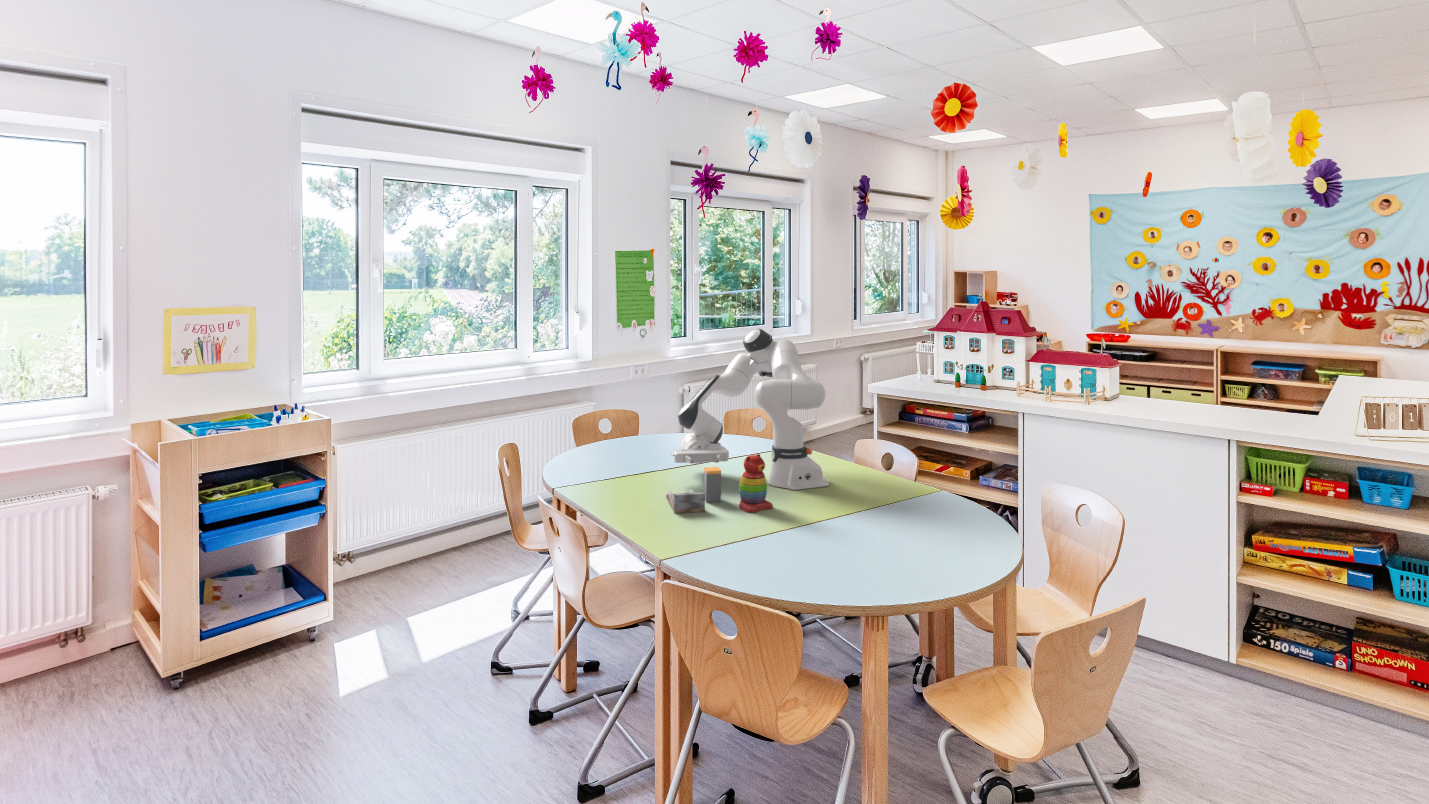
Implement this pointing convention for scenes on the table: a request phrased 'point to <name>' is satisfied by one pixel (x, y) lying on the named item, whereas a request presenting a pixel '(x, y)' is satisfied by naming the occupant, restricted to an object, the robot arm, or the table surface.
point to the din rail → (687, 502)
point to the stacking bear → (753, 485)
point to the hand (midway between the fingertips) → (704, 460)
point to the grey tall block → (712, 484)
